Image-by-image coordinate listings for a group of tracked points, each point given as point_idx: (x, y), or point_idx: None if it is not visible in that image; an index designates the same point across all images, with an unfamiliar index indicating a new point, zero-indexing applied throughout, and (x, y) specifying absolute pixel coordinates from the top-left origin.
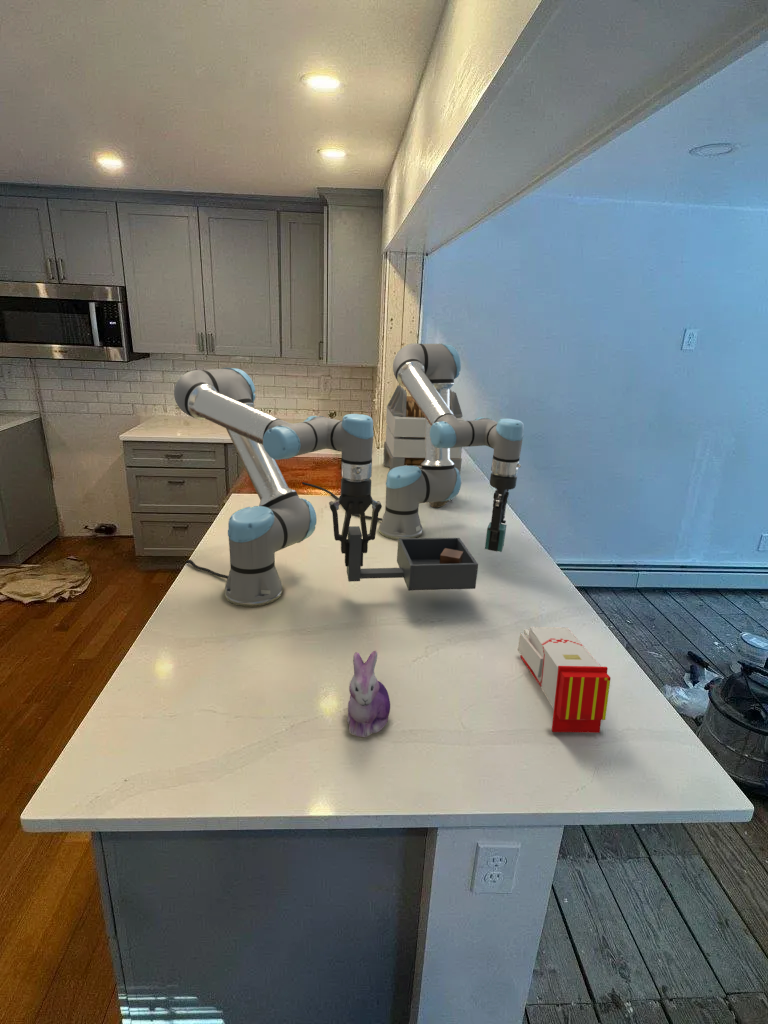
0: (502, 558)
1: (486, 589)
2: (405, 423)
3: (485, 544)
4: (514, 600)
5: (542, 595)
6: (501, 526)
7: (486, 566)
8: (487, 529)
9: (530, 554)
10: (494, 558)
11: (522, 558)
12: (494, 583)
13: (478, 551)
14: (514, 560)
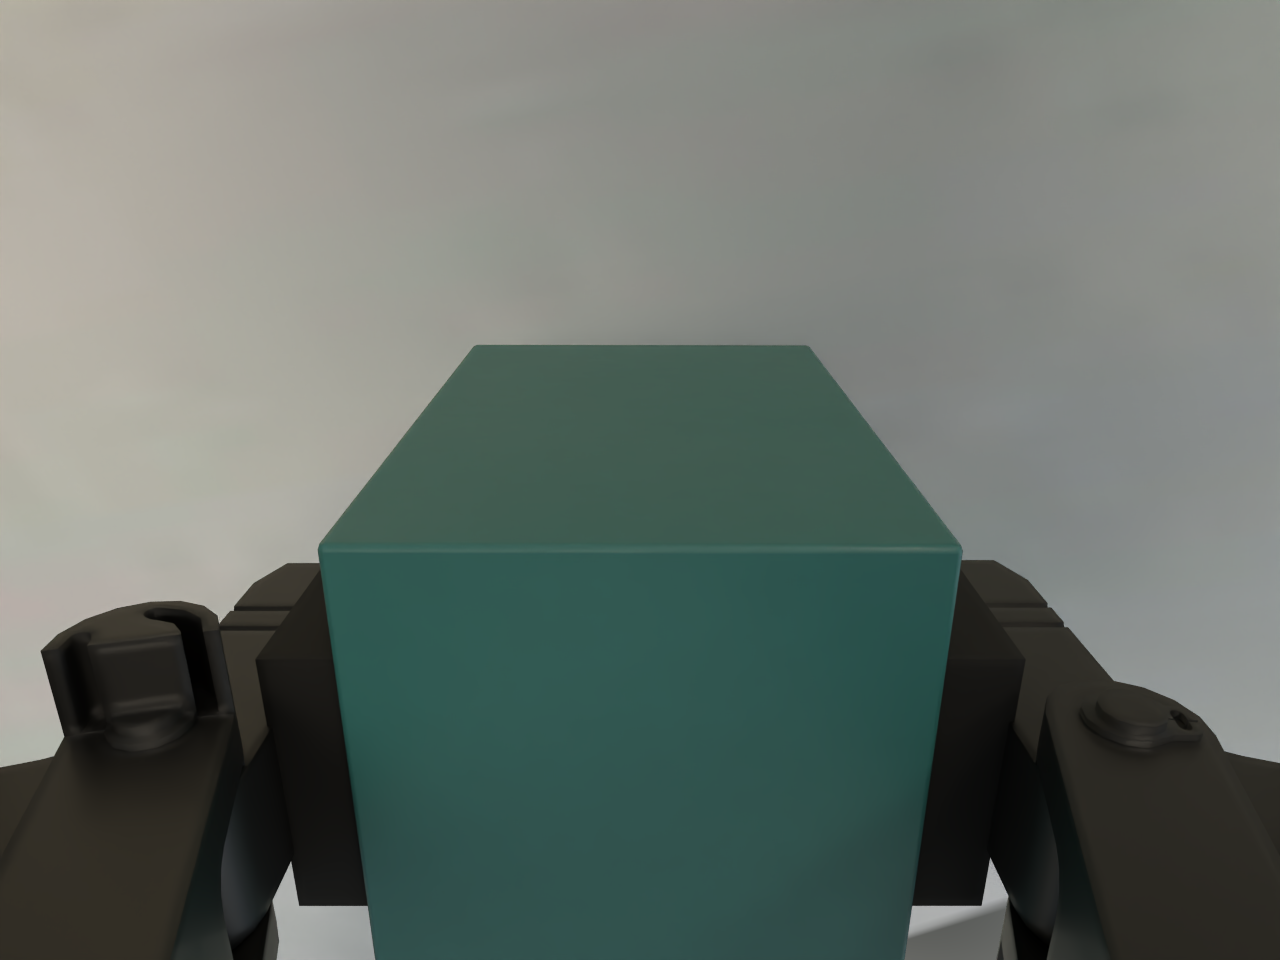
0: (1065, 449)
1: (79, 410)
2: None
3: (451, 375)
4: (20, 709)
5: (289, 908)
6: (680, 919)
7: (735, 296)
8: (333, 530)
9: (1275, 725)
10: (1036, 353)
11: (1131, 661)
12: (290, 470)
13: (1234, 86)
14: (1044, 588)
